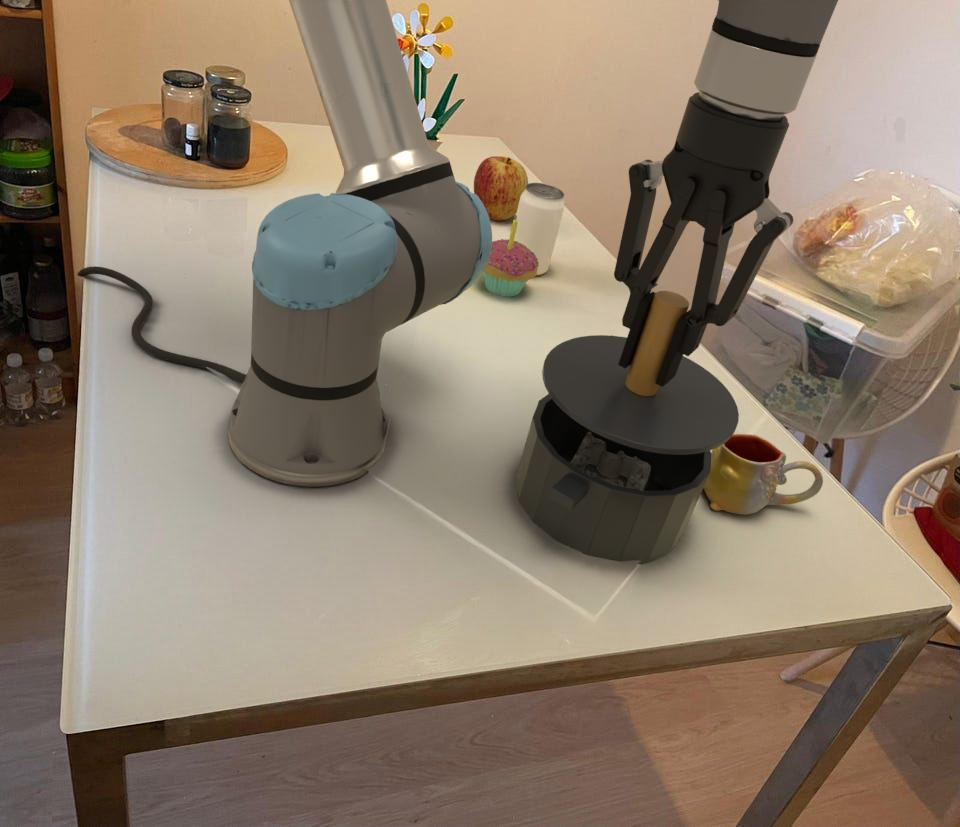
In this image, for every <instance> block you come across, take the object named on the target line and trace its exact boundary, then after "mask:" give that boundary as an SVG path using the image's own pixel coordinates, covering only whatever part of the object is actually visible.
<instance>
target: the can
mask: <svg viewBox="0 0 960 827" xmlns="http://www.w3.org/2000/svg"><path fill="white" fill-rule="evenodd" d="M564 197H565V193H564V192H563V191H562V189H560V188H558V187H557V186H555V185H551V184H547V183H542V182H528V184H527V185H526V189H525V191H524V192H523V193H522V194H521V197H520V201H519V205H518V209H517V213H516V214H515V216H516V215H517V220H518V224H517V229H516V233H515V238H514V241H517V242H519V243H521V244H523V245H524V246H526V248H528V249H530V251H532V252H533V253H534V255H536V258H537V259H538V262H539V264H538V265H539V266H538V267H537V273H536V275H535V277H538V276H542V275H544V274H545V273H547V272H548V270H549V267H550V264H551V260H552V256H553V253H554V247H555V245H556V241H557V237H558V233H559V230H560V225H561V222H562V218H563V214H564V209H565V202H564Z"/></svg>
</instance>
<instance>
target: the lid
mask: <svg viewBox="0 0 960 827" xmlns="http://www.w3.org/2000/svg"><path fill="white" fill-rule="evenodd" d="M689 307H690V302H689V300H688V299H687V298H686V297H684V296H683V295H682V294H679V293H676V292H673V291H669V290H659V291H656V292H655V295H654V298H653V301H652V304H651V307H650V310H649V313H648V316H647V319H646V322H645V324H644V327H643V330H642V333H641V336H640V339H639V342H638V345H637V348H636V351H635V354H634V357H633V360H632V363H631V365H629V366H628V367H627V368H626V369H625V368H623V367H621V366H619V365H618V364H619V361H620V358H621V355H622V352H623V349H624V346H625V343H626V340H627V337H626V336H619V335H607V334H606V335H604V334H597V335H595V334H593V335H585V336H578V337H574V338H569V339H567V340H564V341H563V342H561V343H559V344H557V345H556V346H554V347H553V348H552V349H551V350H550V351H549V352H548V354H547V355H546V357H545V359H544V361H543V365H542V371H541V375H542V381H543V385H544V387H545V390H546V391H547V393H548V394H549V395H550V396H551V398H552V399H553V400H554V402H555V403H556V404H557V405H558V406H559V407H560V408H561V409H562V410H563V411H564V412H565V413H566V414H567V415H568V416H570V417H571V418H572V419H574V420H575V421H576V422H578V423H579V424H581V425H582V426H584V427H586V428H587V429H589V430H591V431H592V432H594V433H596V434H598V435H600V436H603V437H605V438H607V439H609V440H612V441H614V442H617V443H619V444H622V445H626V446H629V447H632V448H636V449H640V450H644V451H648V452H655V453H661V454H672V455H687V454H697V453H702V452H706V451H710V452H711V451H712V450H713V449H715V448H718V447H719V446H721V445H723V444H724V443H726V442H727V441H728V440H729V439H730V438H731V437H732V435H733V434H735V432H736V430H737V427H738V424H739V418H740V414H739V408H738V405H737V403H736V400H735V399H734V396H733V395H732V393H731V392H730V391H729V389H728V388H727V387H726V386H725V385H724V384H723V383H722V382H721V380H719V379H718V378H717V377H716V376H715V375H714V374H713V373H712V372H710V371H709V370H708V369H706V368H704V366H702V365H700V364H698V363H697V362H695V361H693V359H690V358H688V357H687V356H685V355H683V356H682V359H681V362H680V364H679V367H678V370H677V372H676V375H675V377H673V378H672V379H671V380H670V381H669V382H668V383H667V384H666V385H664V386H663V387H662V386H660V385H658V384H656V383H655V382H656V379H657V377H658V374H659V371H660V368H661V366H662V363H663V360H664V357H665V355H666V352H667V349H668V347H669V344H670V341H671V338H672V336H673V333H674V330H675V327H676V325H677V322H678V319H679V318H680V317H681V316H683V315H684V314H686V313H687V312H688V311H689V310H688V309H689Z"/></svg>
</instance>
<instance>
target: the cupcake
mask: <svg viewBox="0 0 960 827" xmlns="http://www.w3.org/2000/svg"><path fill="white" fill-rule="evenodd" d="M511 224H512V225H511V229H510V234H509V238H508V239H503V238H501V239H498V240H497V239H496V240H494V241H493V240H492V249H491V254H490V258H489V262H488V264H487V266H486V268H485V270H484V272H483V278H484V287H485V288H486V289H487V290H488V291H489V292H490V293H493V294H495V295H497V296H502V297H516V296H518V295H520V293H521V292H522V290H523V288H524V287H525V285H526V284H527V283H528V281H529V280H531V279H534V278H535V277H536V276H535V275H536V273H537V267H538V266H539V265H538V264H539V262H538V259H537V258H536V255H534V253H533V252H532V251H530V249H528V248H526V246H524V245H523V244H521V243H519V242H517V241H514V238H515V233H516V229H517V224H518V220H517V215H516V214H515V218H514V219H513V220H512V223H511Z"/></svg>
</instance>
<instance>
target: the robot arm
mask: <svg viewBox="0 0 960 827" xmlns="http://www.w3.org/2000/svg"><path fill="white" fill-rule="evenodd" d="M288 1H289V5H290V7H291V11H292V14H293V17H294V20H295V23H296V26H297V30H298V34H299V35H300V38H301V42H302V44H303V48H304V51H305V54H306V57H307V60H308V63H309V66H310V69H311V72H312V75H313V79H314V82H315V85H316V88H317V90H318V94H319V97H320V100H321V103H322V106H323V110H324V112H325V116H326V119H327V122H328V125H329V128H330V131H331V133H332V137H333V140H334V144H335V146H336V149H337V152H338V155H339V158H340V162H341V164H342V168H343V176H342V178H341V180H340V182H339V185H338V187H337V188H336V191H335V192H334V193H333V192H331V193H330V194H329V195H322V194H320V193H309V194H304V195H300V196H296V197H293V198H291V199H288V200H285V201H284V202H282V203H280V204H278V205H277V206H275V207H274V208H273V209H272V210H270V211H269V212H268V213H267V214H266V215H265V217H264V218H263V219H262V221H261V223H260V225H259V227H258V230H257V231H258V232H257V235H256V243H255V244H256V245H255V250H254V253H253V258H252V264H251V267H252V268H251V271H252V310H251V312H252V313H251V318H252V319H251V348H250V350H251V352H250V354H251V355H250V367H249V369H248V371H247V373H243V372H241V371H238V370H236V369H233V368H231V367H228V366H225V365H223V364H219V363H217V362H213V361H210V360H205V359H203V358H202V359H201V358H197V357H192V356H187V355H183V354H179V353H175V352H171V351H169V350H168V351H167V350H165V349H162V348H159V347H157V346H155V345H153V344H151V343H150V342H148V341H147V340H146V339H144V338H143V336H142V334H141V329H142V326H143V325H144V323H145V321H146V319H147V318H148V317H149V315H150V313H151V311H152V308H153V305H154V304H153V302H154V300H153V296H152V294H150V292H149V291H148V290H147V289H146V288H145V287H144V286H142V284H140V283H139V282H137V281H136V280H134V279H132V278H131V277H129V276H128V275H126V274H123V273H121V272H119V271H117V270H114V269H111V268H108V267H104V266H95V265H94V266H86V267H84V268H81V269H80V270H79V271H78V272H77V274H76V275H77V276H78V277H81V278H83V277H87V276H90V275H101V276H106V277H109V278H112V279H115V280H117V281H118V282H121V283H122V284H124V285H126V286H128V287H130V289H132V290H134V291H135V292H137V293H138V294H139V295H140V296H141V297H142V298H143V301H144V303H143V307H142V309H141V310H140V312H139V313H138V315H137V316H136V318H135V319H134V321H133V323H132V325H131V337H132V339H133V341H134V342H135V344H136V345H137V346H138V347H140V348H141V349H142V350H143V351H145V352H146V353H148V354H149V355H151V356H154V357H157V358H160V359H162V360H166V361H169V362H173V363H176V364H181V365H186V366H190V367H195V368H199V369H203V370H207V371H210V370H213V371H216V372H218V373H220V374H222V375H224V376H226V377H229V378H231V379H233V380H235V381H237V382H240V383H242V384H241V387H240V389H239V392H238V394H237V397H236V399H235V400H234V402H233V405H232V407H231V410H230V413H229V416H228V443H229V447H230V448H231V451H232V452H233V454H234V455H235V457H236V459H238V460H239V461H240V462H241V463H242V464H243V465H244V466H245V467H246V468H248V469H249V470H251V471H252V472H254V473H256V474H257V475H259V476H262V477H263V478H266V479H268V480H272V481H274V482H277V483H281V484H285V485H290V486H296V487H297V486H298V487H309V488H310V487H311V488H314V487H315V488H316V487H327V486H335V485H340V484H344V483H348V482H350V481H353V480H356V479H358V478H360V477H362V476H364V475H366V474H367V473H368V472H369V470H370V469H371V468H372V467H374V466H375V465H376V464H377V463H378V462H379V460H380V459H381V457H382V456H383V454H384V452H385V449H386V445H387V444H386V443H387V439H388V433H389V431H388V429H389V428H390V425H388V424H391V423H390V422H391V420H389V423H388V422H387V418H386V414H385V411H384V409H383V407H382V403H381V394H380V389H379V384H378V379H377V378H378V370H379V362H380V356H381V349H382V342H383V338H384V336H385V335H386V333H388V332H390V331H392V330H394V329H395V328H397V327H399V326H402V325H404V324H405V323H407V322H409V321H411V320H413V319H415V318H417V317H419V316H421V315H423V314H425V313H427V312H429V311H431V310H433V309H435V308H436V307H439V306H441V305H447V304H448V303H451V302H452V301H454V300H456V299H457V298H458V297H460V296H461V295H462V294H463V293H464V292H465V291H467V290H468V289H470V288H471V287H472V286H474V284H476V283H477V282H478V281H479V280H480V278H481V277H482V275H484V273H483V272H484V270H485V268H486V266H487V264H488V262H489V258H490V254H491V249H492V242H493V231H492V224H491V219H490V218H489V216H488V213H487V211H486V209H485V207H484V205H483V203H482V202H481V200H480V199H479V197H478V196H477V195H476V194H474V192H471V191H470V188H469V187H468V186H467V185H465V184H463V183H461V182H459V181H456V179H455V178H456V177H455V174H454V171H453V168H452V165H451V161H450V158H449V157H448V156H446V155H444V154H442V153H441V152H439V151H438V150H436V149H434V148H433V147H431V145H430V143H429V142H428V138H427V135H426V132H425V128H424V124H423V121H422V118H421V115H420V110H419V108H418V105H417V101H416V97H415V94H414V91H413V87H412V84H411V80H410V76H409V74H408V70H407V66H406V64H405V60H404V56H403V53H402V49H401V46H400V44H399V40H398V36H397V33H396V29H395V26H394V23H393V20H392V16H391V12H390V10H389V5H388V2H387V0H288ZM838 1H839V0H718V4H717V11H716V15H715V17H714V19H713V21H712V25H711V29H710V32H709V35H708V38H707V41H706V45H705V48H704V51H703V54H702V57H701V60H700V62H699V66H698V69H697V72H696V74H695V78H694V81H693V84H694V85H695V89H696V90H698V91H697V92H695V93H693V94H692V95H691V96H689V98H688V100H687V103H686V107H685V110H684V113H683V116H682V119H681V123H680V126H679V129H678V131H677V135H676V138H675V143H674V146H673V148H671V150H670V152H668V154H667V155H665V157H664V158H663V160H658V161H653V160H651V159H645V160H642V161H639V162H637V163H635V164H632V165H630V166H629V168H628V180H629V188H630V196H629V201H628V205H627V210H626V215H625V220H624V225H623V228H622V229H623V230H622V233H621V239H620V244H619V247H618V253H617V258H616V261H615V262H616V263H615V267H614V272H613V276H614V279H615V280H616V282H619V283H623V284H624V285H625V286H626V287H627V288H628V290H629V297H628V300H627V304H626V307H625V309H624V312H623V315H622V318H621V321H622V326H623V327H625V328H627V329H629V331H628V333H627V337H626V338H627V340H626V343H625V346H624V349H623V352H622V355H621V358H620V361H619V364H618V365H619V366H621V367H623V368H625V369H626V368H627V367H628V366H629V365H631V363H632V360H633V357H634V354H635V351H636V348H637V345H638V342H639V339H640V336H641V333H642V330H643V327H644V324H645V322H646V319H647V316H648V313H649V310H650V307H651V304H652V301H653V298H654V295H655V293H656V292H654V291H652V290H653V289H654V288H655V287H657V286H658V285H659V284H658V283H657V282H658V280H659V278H660V277H661V275H662V273H663V271H664V270H665V268H666V265H667V263H668V262H669V260H670V259H671V258H670V257H671V256H672V254H673V252H674V250H675V248H676V246H677V244H678V242H679V241H680V239H681V237H682V235H683V233H684V231H685V229H686V227H687V226H688V224H689V223H690V222H695V223H697V224H698V225H699V226H701V227H702V228H703V229H704V232H703V236H702V243H703V245H702V246H703V247H702V251H701V256H700V262H699V266H698V271H697V275H696V281H695V286H694V291H693V296H692V301H691V306H690V309H689V310H687V313H686V314H684V315H683V316H681V317H680V318H679V319H678V322H677V325H676V327H675V330H674V333H673V336H672V338H671V341H670V344H669V347H668V349H667V352H666V355H665V357H664V360H663V363H662V366H661V368H660V371H659V374H658V377H657V379H656V382H655V383H656V384H658V385H660V386H662V387H663V386H664V385H666V384H667V383H668V382H669V381H670V380H671V379H672V378H673V377H675V375H676V372H677V370H678V367H679V364H680V362H681V359H682V356H685V357H689V356H691V355H692V354H693V353H694V352H695V351H696V350H697V349H698V348H699V347H700V345H701V341H702V339H703V337H704V334H705V331H706V328H707V326H708V324H712V325H715V326H717V327H723V326H725V325H726V324H727V323H728V322H730V320H732V319H733V318H734V317H735V316H736V315H737V314H738V311H739V309H740V308H741V306H742V303H743V302H744V300H745V297H746V296H747V294H748V292H749V290H750V289H751V286H752V284H753V283H754V280H755V278H756V277H757V275H758V273H759V271H760V269H761V268H762V265H763V264H764V261H765V259H766V258H767V256H768V254H769V252H770V251H771V248H772V247H773V244H774V242H775V241H776V240H777V239H778V238H779V237H780V236H781V235H782V234H783V233H785V232H786V231H787V230H788V229H789V228H790V227H791V226H792V225H793V224H794V216H793V215H792V214H791V213H790V212H787V211H785V212H782V211H781V210H780V209H779V208H778V207H777V206H776V205H775V204H774V203H773V202H772V201H771V200H770V199H769V197H770V194H771V193H770V192H771V191H770V176H771V173H772V172H773V168H774V165H775V162H776V161H777V158H778V156H779V152H780V150H781V148H782V145H783V142H784V140H785V138H786V135H787V132H788V130H789V127H790V123H789V119H788V118H787V116H786V115H788V114H790V113H792V112H794V111H796V110H797V107H798V104H799V101H800V99H801V97H802V94H803V91H804V88H805V86H806V84H807V81H808V79H809V76H810V73H811V71H812V68H813V67H814V63H815V61H816V58H817V54H818V52H819V50H820V47H821V43H822V41H823V39H824V36H825V34H826V31H827V29H828V26H829V24H830V21H831V19H832V17H833V14H834V12H835V9H836V6H837V5H838ZM663 179H664V183H665V186H666V190H667V193H668V194H667V195H668V197H669V200H670V201H669V202H670V205H669V207H668V209H667V211H666V213H665V215H664V217H663V219H662V222H661V223H662V224H661V226H660V229H659V230H658V232H657V234H656V236H655V238H654V240H653V242H652V244H651V246H650V249H649V250H648V252H647V254H646V255H645V257H644V259H643V262H642V258H643V255H644V254H643V253H644V250H645V244H646V240H647V236H648V232H649V228H650V222H651V220H652V215H653V210H654V206H655V202H656V196H657V189H658V187H660V186H661V184H662V181H663ZM754 211H755V212H756V215H757V216H756V220H754V223H753V230H754V232H756V234H755V235H754V236H753V237H752V238H751V240H750V241H749V243H748V245H747V247H746V249H745V250H744V253H743V254H742V256H741V259H740V261H739V263H738V264H737V267H736V268H735V271H734V272H733V275H732V277H731V279H730V280H729V282H728V284H727V286H726V288H725V290H724V293H723V295H722V297H721V298H720V300H719V302H718V304H717V298H718V295H719V294H718V293H719V289H720V285H721V280H722V275H723V271H724V268H725V267H724V266H725V262H726V256H727V254H728V248H729V244H730V239H731V238H732V236H733V232H734V228H735V224H736V223H737V222H739V221H740V220H742V219H743V218H744V217H746V216H748V215H749V214H751V213H752V212H754ZM641 262H642V264H641ZM391 416H392V415H390V417H389V418H391ZM387 423H388V424H387Z"/></svg>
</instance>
